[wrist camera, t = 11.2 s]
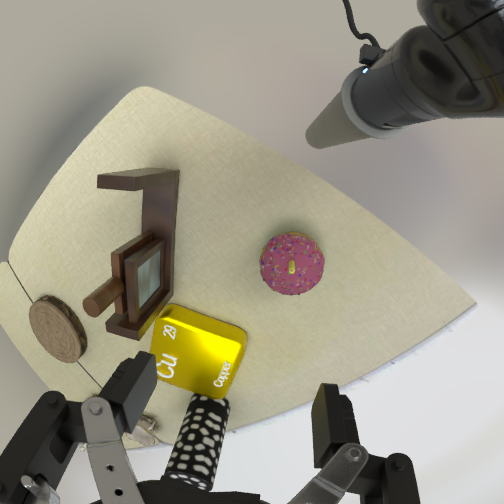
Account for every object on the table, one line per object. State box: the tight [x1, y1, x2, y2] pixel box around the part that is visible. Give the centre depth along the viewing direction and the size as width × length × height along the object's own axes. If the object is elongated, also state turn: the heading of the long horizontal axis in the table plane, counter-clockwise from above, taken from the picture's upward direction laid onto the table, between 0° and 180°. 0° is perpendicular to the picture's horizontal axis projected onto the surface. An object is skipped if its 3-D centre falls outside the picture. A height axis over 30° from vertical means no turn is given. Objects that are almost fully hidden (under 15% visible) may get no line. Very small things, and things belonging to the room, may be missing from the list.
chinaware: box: [79, 416, 155, 451], centre depth 53 cm, size 28×17×17 cm, turn 126°
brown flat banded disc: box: [29, 295, 87, 363], centre depth 51 cm, size 16×16×3 cm
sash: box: [83, 231, 153, 317], centre depth 35 cm, size 8×2×16 cm, turn 173°
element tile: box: [150, 304, 247, 400], centre depth 47 cm, size 15×15×5 cm
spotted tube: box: [164, 393, 230, 492], centre depth 44 cm, size 8×8×20 cm
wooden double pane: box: [97, 168, 179, 341], centre depth 36 cm, size 20×5×14 cm, turn 173°
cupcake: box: [260, 232, 325, 295], centre depth 36 cm, size 9×8×12 cm
